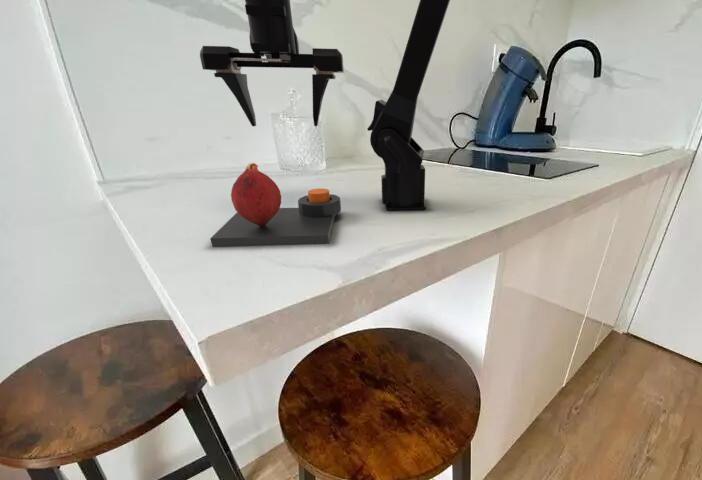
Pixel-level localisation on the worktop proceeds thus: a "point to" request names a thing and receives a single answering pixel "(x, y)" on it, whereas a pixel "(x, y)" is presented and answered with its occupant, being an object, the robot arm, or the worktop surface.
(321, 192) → the button
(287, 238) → the scale
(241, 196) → the onion
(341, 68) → the robot arm
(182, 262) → the worktop surface
